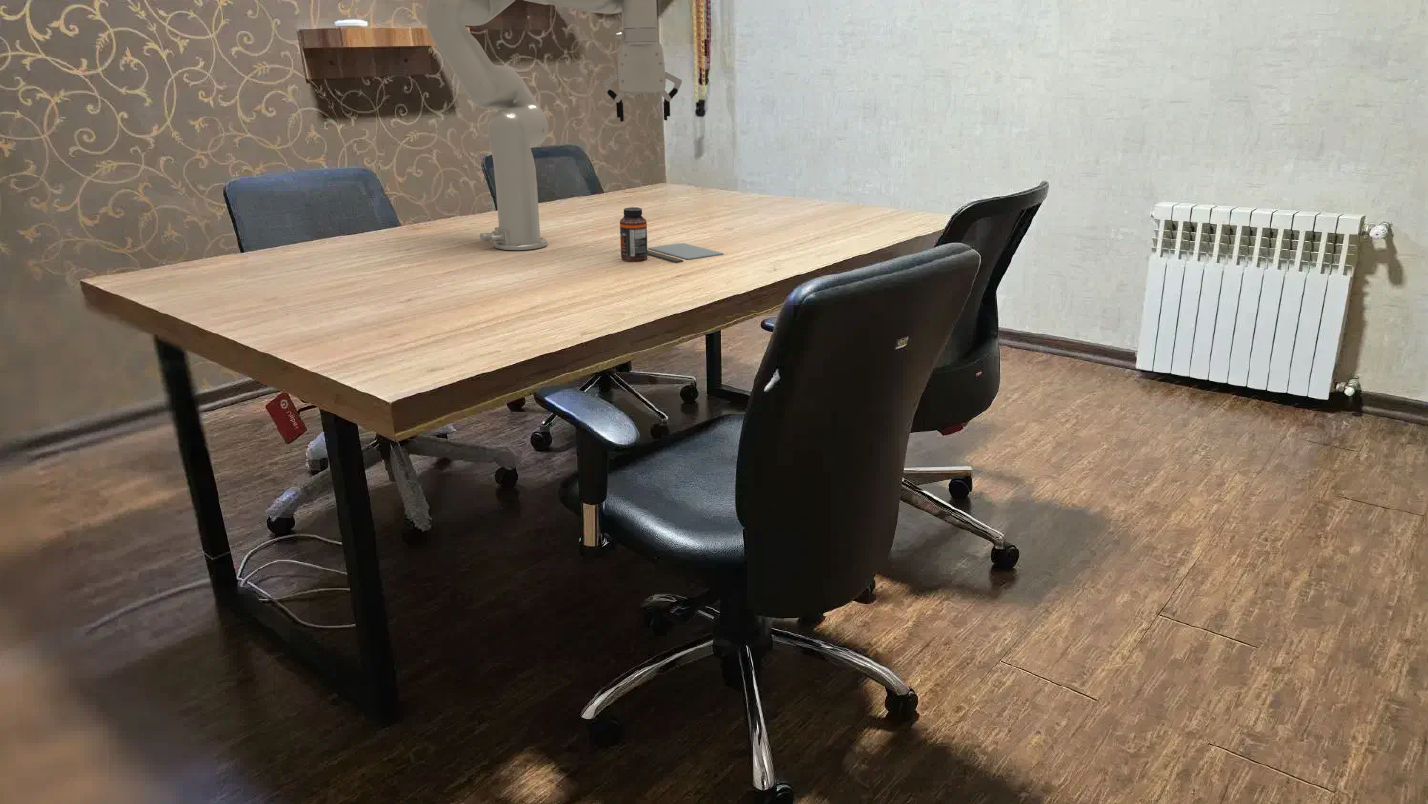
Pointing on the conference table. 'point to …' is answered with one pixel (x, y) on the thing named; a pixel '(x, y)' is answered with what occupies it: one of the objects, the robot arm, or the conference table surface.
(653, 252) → the bar
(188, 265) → the conference table surface
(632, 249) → the supplement bottle
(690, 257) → the pad
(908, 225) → the conference table surface
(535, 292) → the conference table surface
